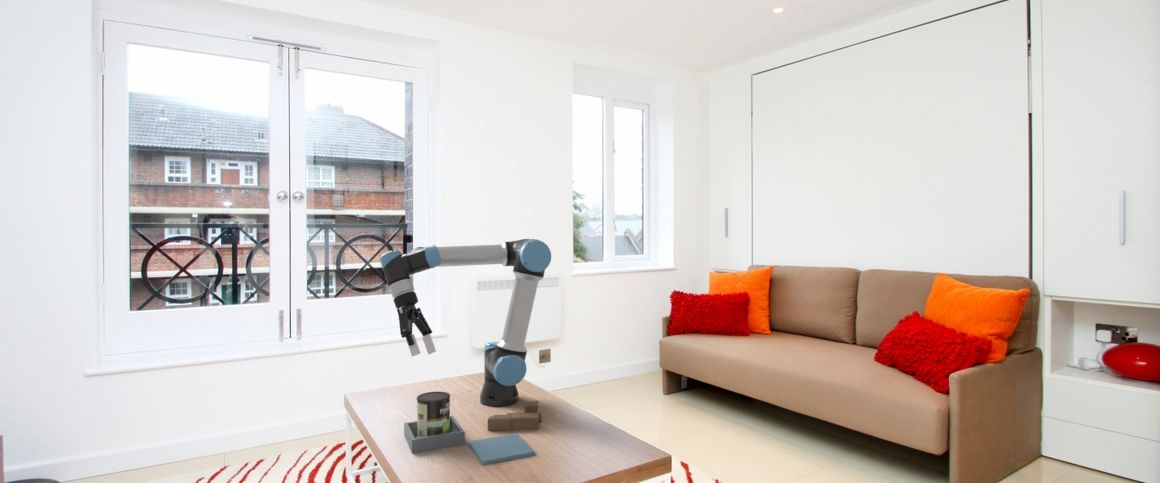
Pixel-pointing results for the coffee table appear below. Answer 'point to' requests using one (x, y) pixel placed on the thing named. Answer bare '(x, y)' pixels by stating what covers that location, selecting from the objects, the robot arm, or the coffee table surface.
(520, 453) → the board
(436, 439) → the bin
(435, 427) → the coffee can
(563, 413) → the coffee table surface
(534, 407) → the wooden block set
